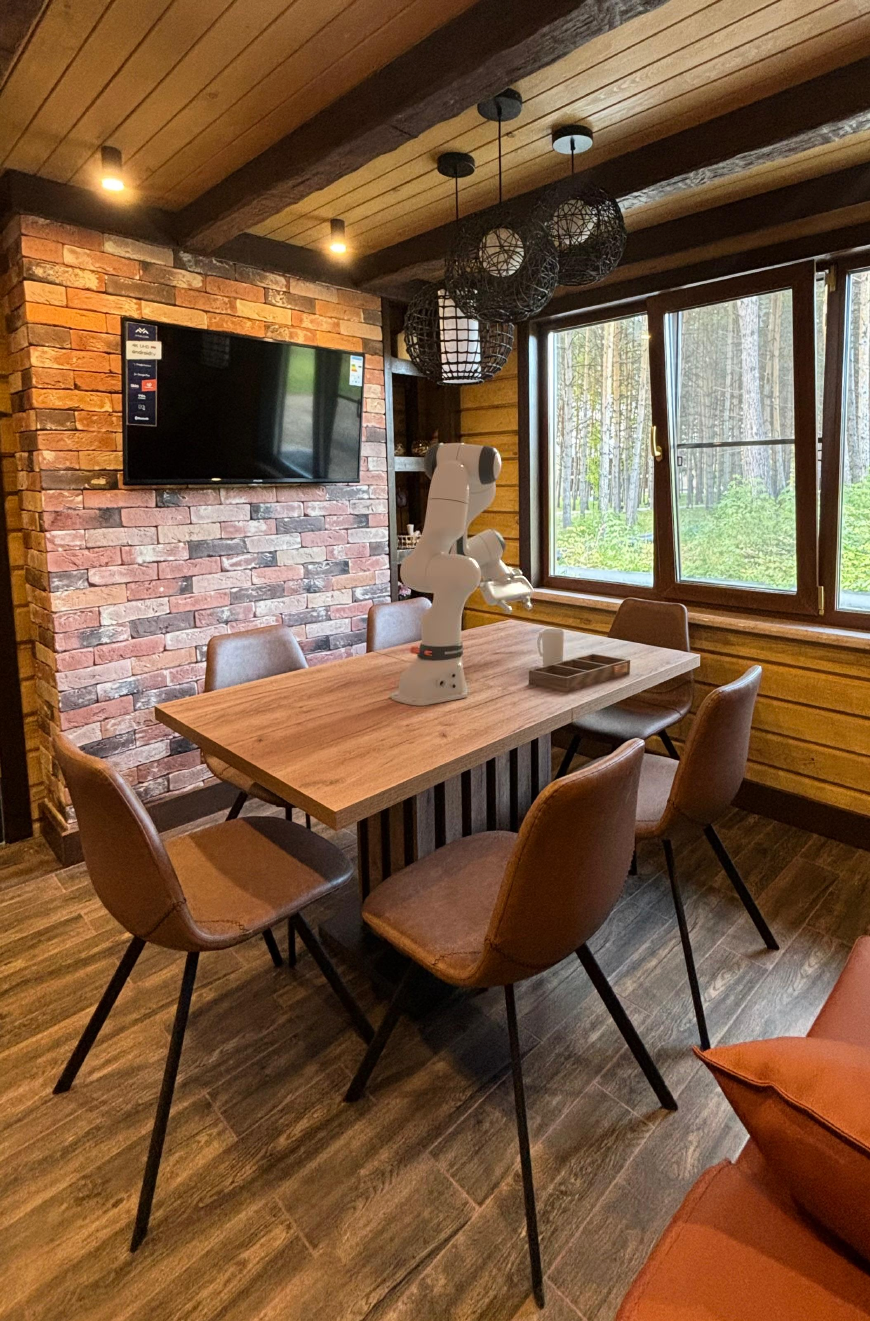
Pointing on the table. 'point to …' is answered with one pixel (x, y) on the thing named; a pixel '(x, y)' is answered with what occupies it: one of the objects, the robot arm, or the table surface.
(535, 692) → the table surface
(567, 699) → the table surface
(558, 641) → the mug
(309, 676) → the table surface
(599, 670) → the tray
